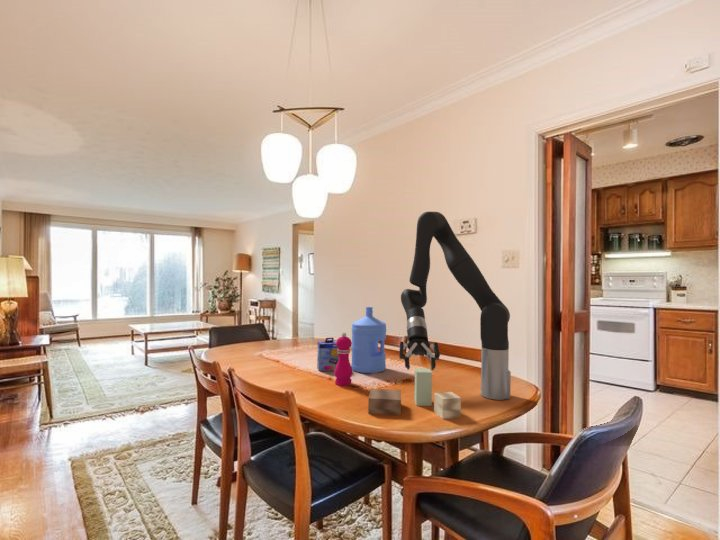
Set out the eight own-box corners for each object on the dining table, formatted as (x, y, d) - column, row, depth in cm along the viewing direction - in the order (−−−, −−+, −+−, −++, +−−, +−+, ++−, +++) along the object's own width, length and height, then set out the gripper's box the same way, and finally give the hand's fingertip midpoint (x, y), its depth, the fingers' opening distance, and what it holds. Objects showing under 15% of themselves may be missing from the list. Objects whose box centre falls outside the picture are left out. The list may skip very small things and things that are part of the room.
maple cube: (451, 410, 122) (451, 391, 122) (460, 417, 116) (460, 397, 116) (433, 412, 121) (434, 393, 121) (442, 419, 115) (442, 399, 115)
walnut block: (400, 405, 127) (400, 390, 127) (400, 416, 117) (401, 399, 118) (370, 403, 128) (370, 388, 128) (368, 414, 118) (368, 398, 118)
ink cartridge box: (318, 371, 168) (319, 338, 168) (316, 368, 173) (316, 336, 174) (340, 370, 171) (341, 337, 171) (337, 367, 176) (338, 335, 177)
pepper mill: (336, 386, 146) (337, 334, 146) (332, 381, 153) (333, 331, 153) (354, 385, 148) (355, 333, 148) (350, 380, 155) (350, 331, 155)
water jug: (346, 371, 168) (347, 308, 168) (357, 364, 183) (358, 305, 183) (380, 375, 163) (381, 309, 163) (389, 367, 178) (390, 306, 178)
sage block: (429, 400, 131) (429, 368, 131) (431, 405, 126) (431, 372, 126) (414, 400, 131) (414, 368, 131) (416, 405, 126) (416, 372, 126)
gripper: (399, 324, 143) (401, 362, 132) (437, 325, 143) (442, 363, 131) (397, 336, 148) (399, 373, 137) (434, 337, 148) (439, 374, 137)
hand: (420, 368), depth 134 cm, fingers open, 8 cm apart
